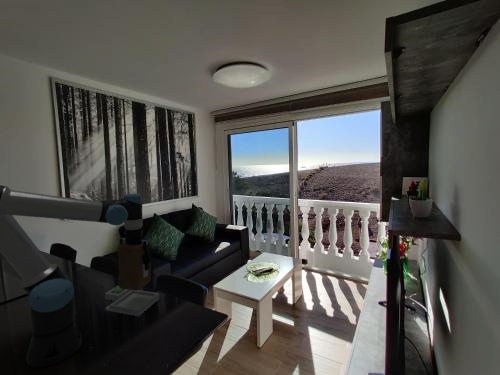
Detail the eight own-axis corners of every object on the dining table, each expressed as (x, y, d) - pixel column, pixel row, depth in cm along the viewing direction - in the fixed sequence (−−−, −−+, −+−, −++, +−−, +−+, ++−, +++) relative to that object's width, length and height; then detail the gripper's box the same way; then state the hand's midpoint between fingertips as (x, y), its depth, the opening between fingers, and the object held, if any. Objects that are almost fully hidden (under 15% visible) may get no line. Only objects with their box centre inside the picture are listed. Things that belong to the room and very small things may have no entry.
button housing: (119, 301, 118) (119, 295, 118) (105, 299, 120) (104, 293, 120) (131, 293, 126) (130, 287, 126) (117, 291, 128) (117, 285, 128)
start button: (118, 297, 121) (118, 290, 120) (111, 296, 122) (111, 289, 121) (124, 293, 125) (124, 286, 124) (117, 292, 126) (117, 285, 125)
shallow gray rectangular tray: (138, 316, 107) (138, 310, 107) (105, 310, 111) (105, 304, 111) (159, 298, 122) (159, 293, 122) (129, 293, 126) (129, 288, 126)
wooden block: (138, 291, 110) (137, 247, 108) (118, 289, 112) (116, 245, 110) (151, 281, 120) (150, 240, 118) (133, 279, 122) (131, 239, 120)
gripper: (160, 227, 114) (161, 274, 116) (118, 224, 120) (120, 269, 121) (150, 231, 107) (151, 282, 109) (106, 228, 112) (108, 275, 114)
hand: (135, 275), depth 115 cm, fingers closed on wooden block, 10 cm apart
